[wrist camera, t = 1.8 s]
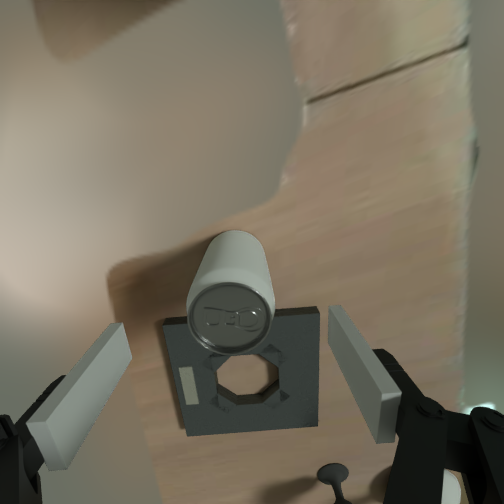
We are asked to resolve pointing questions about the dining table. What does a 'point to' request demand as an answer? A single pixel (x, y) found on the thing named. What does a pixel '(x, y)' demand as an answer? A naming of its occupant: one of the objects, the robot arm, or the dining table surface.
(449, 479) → the flower in vase
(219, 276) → the can
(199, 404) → the socket plate
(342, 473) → the sundae
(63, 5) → the dining table surface
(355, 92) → the dining table surface
